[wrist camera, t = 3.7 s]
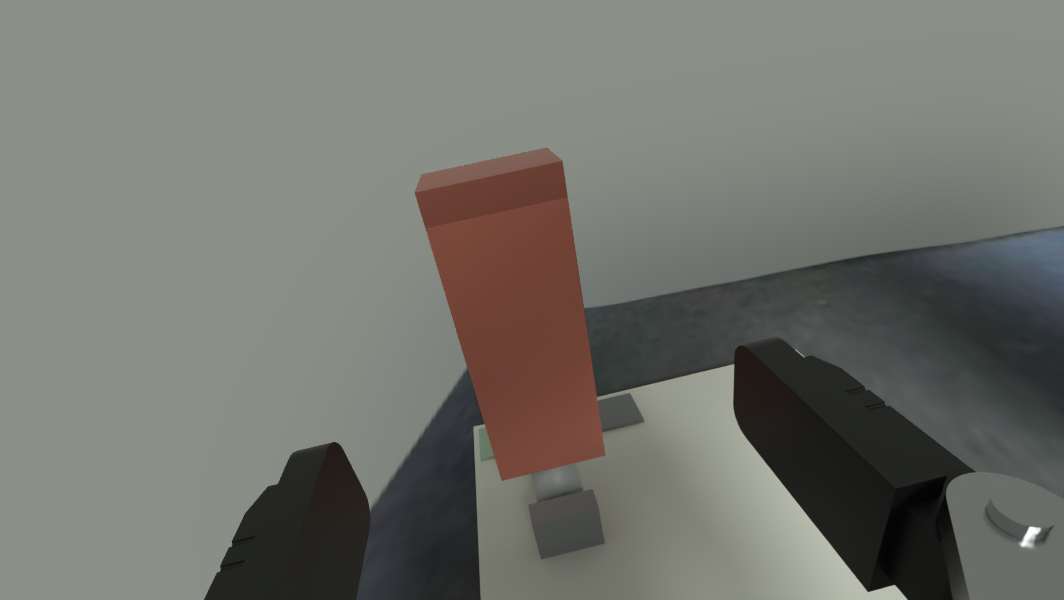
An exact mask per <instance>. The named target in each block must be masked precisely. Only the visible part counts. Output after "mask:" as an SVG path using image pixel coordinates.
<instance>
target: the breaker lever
mask: <svg viewBox="0 0 1064 600" xmlns="http://www.w3.org/2000/svg"><path fill="white" fill-rule="evenodd" d="M415 195H416V198H417V202H418V205H419V208H420V212H421V215H422V218H423V222H424V225H425V228H426V232H427V235H428V238H429V241H430V245H431V248H432V251H433V255H434V258H435V261H436V265H437V268H438V271H439V275H440V278H441V281H442V285H443V288H444V291H445V294H446V298H447V301H448V304H449V308H450V311H451V314H452V318H453V321H454V324H455V328H456V331H457V334H458V338H459V341H460V344H461V348H462V351H463V354H464V357H465V361H466V364H467V367H468V371H469V374H470V377H471V381H472V384H473V387H474V391H475V394H476V397H477V401H478V404H479V407H480V410H481V414H482V417H483V420H484V424H485V427H486V430H487V434H488V437H489V440H490V444H491V447H492V450H493V454H494V457H495V460H496V464H497V467H498V470H499V473H500V477H501V480H502V481H504V480H508V479H512V478H516V477H520V476H524V475H528V474H532V477H533V483H534V488H535V494H536V499H537V503H538V502H542V501H546V500H550V499H554V498H558V497H562V496H566V495H570V494H574V493H578V492H582V491H583V487H582V484H581V480H580V477H579V473H578V470H577V467H576V463H577V462H581V461H585V460H589V459H593V458H597V457H601V456H605V448H604V442H603V435H602V428H601V421H600V414H599V408H598V401H597V394H596V387H595V380H594V373H593V367H592V360H591V353H590V346H589V339H588V333H587V326H586V319H585V312H584V305H583V299H582V292H581V285H580V278H579V271H578V265H577V259H576V251H575V244H574V237H573V230H572V224H571V217H570V210H569V203H568V197H567V190H566V183H565V176H564V169H563V163H562V160H561V159H560V158H558V157H557V156H556V155H555V154H554V153H553V152H551V151H550V150H549V149H548V148H543V149H539V150H534V151H529V152H524V153H520V154H515V155H510V156H506V157H501V158H497V159H492V160H487V161H482V162H478V163H473V164H468V165H464V166H459V167H455V168H450V169H445V170H441V171H436V172H431V173H426V174H422V175H421V177H420V180H419V182H418V185H417V188H416V191H415Z"/></svg>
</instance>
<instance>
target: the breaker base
mask: <svg viewBox="0 0 1064 600" xmlns="http://www.w3.org/2000/svg"><path fill="white" fill-rule="evenodd" d="M795 350H796V349H795ZM796 351H797V350H796ZM797 352H798V351H797ZM798 353H799V352H798ZM799 354H801V353H799ZM801 355H802V354H801ZM802 356H803V355H802ZM803 357H804V356H803ZM733 391H734V364H733V365H729V366H724V367H720V368H716V369H712V370H708V371H704V372H699V373H695V374H691V375H687V376H683V377H679V378H674V379H670V380H666V381H662V382H658V383H654V384H649V385H645V386H641V387H637V388H633V389H629V390H624V391H620V392H616V393H612V394H608V395H604V396H599V397H597V401H598V408H599V414H600V421H601V428H602V435H603V442H604V448H605V456H601V457H597V458H593V459H589V460H585V461H581V462H577V463H576V467H577V470H578V473H579V477H580V480H581V484H582V487H583V491H582V492H578V493H574V494H570V495H566V496H562V497H558V498H554V499H550V500H546V501H542V502H538V503H537V499H536V494H535V488H534V483H533V477H532V474H528V475H524V476H520V477H516V478H512V479H508V480H504V481H502V480H501V477H500V473H499V470H498V467H497V464H496V460H495V457H494V454H493V450H492V447H491V444H490V440H489V437H488V434H487V430H486V427H485V424H483V425H479V426H475V427H473V428H474V452H475V476H476V499H477V523H478V547H479V571H480V595H481V600H907V598H906V597H905V596H904V595H903V594H902V593H901V591H900V590H899V589H898V588H897V587H896V586H895V585H893V586H889V587H885V588H882V589H878V590H874V591H871V592H867V590H866V589H865V588H864V587H863V585H862V584H861V583H860V582H859V580H858V579H857V578H856V576H855V575H854V574H853V573H852V571H851V570H850V569H849V568H848V566H847V565H846V564H845V563H844V561H843V560H842V559H841V557H840V556H839V555H838V554H837V552H836V551H835V550H834V549H833V547H832V546H831V545H830V544H829V542H828V541H827V540H826V538H825V537H824V536H823V535H822V533H821V532H820V531H819V530H818V528H817V527H816V526H815V525H814V523H813V522H812V521H811V520H810V518H809V517H808V516H807V514H806V513H805V512H804V511H803V509H802V508H801V507H800V506H799V504H798V503H797V502H796V501H795V499H794V498H793V497H792V495H791V494H790V493H789V492H788V490H787V489H786V488H785V487H784V485H783V484H782V483H781V482H780V480H779V479H778V478H777V476H776V475H775V474H774V473H773V471H772V470H771V469H770V468H769V466H768V465H767V464H766V463H765V461H764V460H763V459H762V458H761V456H760V455H759V454H758V452H757V451H756V450H755V449H754V447H753V446H752V445H751V444H750V442H749V441H748V440H747V439H746V437H745V436H744V434H743V433H742V431H741V429H740V428H739V425H738V423H737V420H736V418H735V414H734V409H733Z"/></svg>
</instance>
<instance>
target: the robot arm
mask: <svg viewBox="0 0 1064 600" xmlns="http://www.w3.org/2000/svg"><path fill="white" fill-rule="evenodd" d="M733 409H734V414H735V418H736V420H737V423H738V425H739V428H740V429H741V431H742V433H743V434H744V436H745V437H746V439H747V440H748V441H749V442H750V444H751V445H752V446H753V447H754V449H755V450H756V451H757V452H758V454H759V455H760V456H761V458H762V459H763V460H764V461H765V463H766V464H767V465H768V466H769V468H770V469H771V470H772V471H773V473H774V474H775V475H776V476H777V478H778V479H779V480H780V482H781V483H782V484H783V485H784V487H785V488H786V489H787V490H788V492H789V493H790V494H791V495H792V497H793V498H794V499H795V501H796V502H797V503H798V504H799V506H800V507H801V508H802V509H803V511H804V512H805V513H806V514H807V516H808V517H809V518H810V520H811V521H812V522H813V523H814V525H815V526H816V527H817V528H818V530H819V531H820V532H821V533H822V535H823V536H824V537H825V538H826V540H827V541H828V542H829V544H830V545H831V546H832V547H833V549H834V550H835V551H836V552H837V554H838V555H839V556H840V557H841V559H842V560H843V561H844V563H845V564H846V565H847V566H848V568H849V569H850V570H851V571H852V573H853V574H854V575H855V576H856V578H857V579H858V580H859V582H860V583H861V584H862V585H863V587H864V588H865V589H866V590H867V592H871V591H874V590H878V589H882V588H885V587H889V586H893V585H895V586H896V587H897V588H898V589H899V590H900V591H901V593H902V594H903V595H904V596H905V597H906V598H907V600H1064V500H1063V499H1062V498H1060V497H1059V496H1057V495H1055V494H1054V493H1052V492H1050V491H1048V490H1046V489H1044V488H1042V487H1040V486H1037V485H1035V484H1032V483H1030V482H1027V481H1024V480H1021V479H1018V478H1015V477H1011V476H1007V475H1003V474H997V473H987V472H975V471H974V470H973V469H971V468H970V467H968V466H967V465H966V464H964V463H963V462H962V461H961V460H959V459H958V458H957V457H955V456H954V455H953V454H951V453H950V452H949V451H948V450H946V449H945V448H944V447H942V446H941V445H940V444H939V443H937V442H936V441H935V440H933V439H932V438H931V437H929V436H928V435H927V434H926V433H924V432H923V431H922V430H920V429H919V428H918V427H917V426H915V425H914V424H913V423H911V422H910V421H909V420H907V419H906V418H905V417H904V416H902V415H901V414H900V413H898V412H897V411H896V410H894V409H893V408H892V407H891V406H886V405H885V403H884V401H883V400H882V399H880V398H879V397H878V396H876V395H875V394H874V393H872V392H871V391H870V390H868V391H866V390H865V386H863V385H862V384H861V383H859V382H858V381H857V380H856V379H854V378H853V377H852V376H850V375H849V374H848V373H847V372H845V371H844V370H843V369H841V368H839V367H837V366H834V365H832V364H830V363H827V362H825V361H823V360H820V359H818V358H816V357H813V356H808V357H803V356H802V355H801V354H799V353H798V352H797V351H796V350H794V349H793V348H792V347H791V346H790V345H788V344H787V343H786V342H785V341H783V340H782V339H780V338H770V339H766V340H762V341H758V342H754V343H750V344H745V345H741V346H739V347H737V349H736V351H735V358H734V391H733ZM369 527H370V510H369V503H368V500H367V497H366V494H365V492H364V490H363V488H362V486H361V484H360V482H359V480H358V478H357V476H356V474H355V472H354V470H353V468H352V466H351V464H350V462H349V460H348V458H347V456H346V454H345V452H344V450H343V449H342V447H341V446H340V445H339V444H338V443H336V442H332V443H328V444H324V445H320V446H316V447H312V448H307V449H303V450H299V451H296V452H294V453H293V454H292V455H291V456H290V458H289V460H288V462H287V465H286V467H285V469H284V471H283V474H282V476H281V478H280V481H279V483H278V484H276V485H272V486H268V487H267V488H266V490H265V491H264V492H263V493H262V494H261V495H260V497H259V498H258V499H257V500H256V501H255V502H254V504H253V505H252V506H251V507H250V508H249V510H248V511H247V512H246V513H245V515H244V517H243V519H242V521H241V523H240V526H239V528H238V530H237V532H236V534H235V536H234V538H233V540H232V547H229V549H228V551H227V553H226V555H225V557H224V559H223V561H222V563H221V566H220V567H221V571H220V572H218V573H217V574H216V576H215V578H214V580H213V582H212V584H211V586H210V588H209V590H208V593H207V595H206V597H205V599H204V600H356V596H357V591H358V586H359V581H360V575H361V570H362V565H363V560H364V554H365V549H366V544H367V539H368V533H369Z"/></svg>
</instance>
